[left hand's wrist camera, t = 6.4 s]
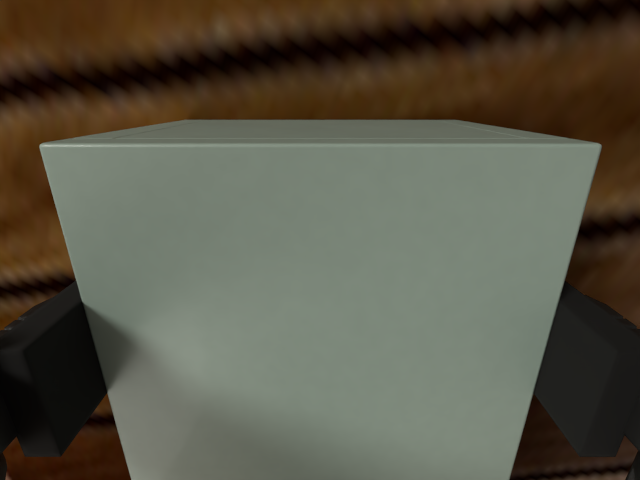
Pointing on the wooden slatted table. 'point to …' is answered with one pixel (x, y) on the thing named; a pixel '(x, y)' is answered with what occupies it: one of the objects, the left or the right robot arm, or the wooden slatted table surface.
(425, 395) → the cabinet
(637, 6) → the wooden slatted table surface
